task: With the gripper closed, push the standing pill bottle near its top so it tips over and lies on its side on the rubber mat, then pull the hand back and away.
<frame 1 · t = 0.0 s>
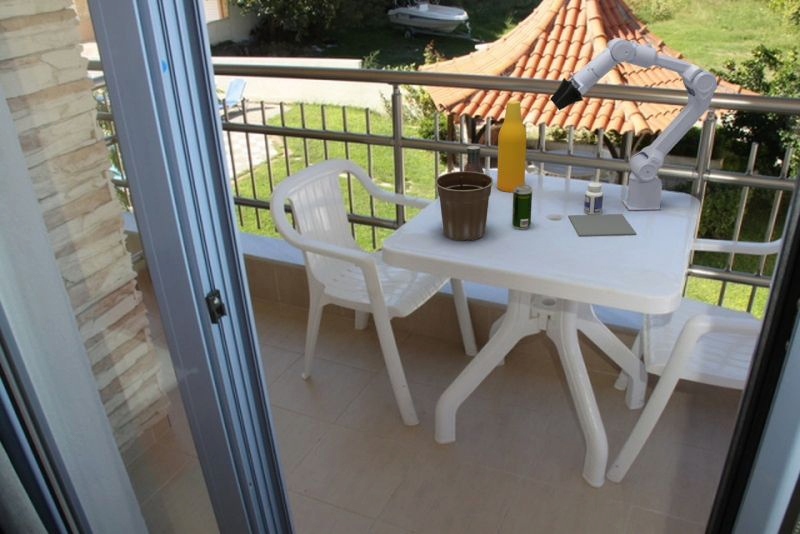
hand: (554, 104, 200), 32 cm above the table, tool tilted 50°, fingers open, 7 cm apart
mat: (601, 225, 200), on the table
plant pot: (464, 234, 199), on the table
sauce bottle: (473, 209, 216), on the table
beer can: (521, 227, 202), on the table
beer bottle: (510, 188, 233), on the table
pill bottle: (592, 212, 210), on the table
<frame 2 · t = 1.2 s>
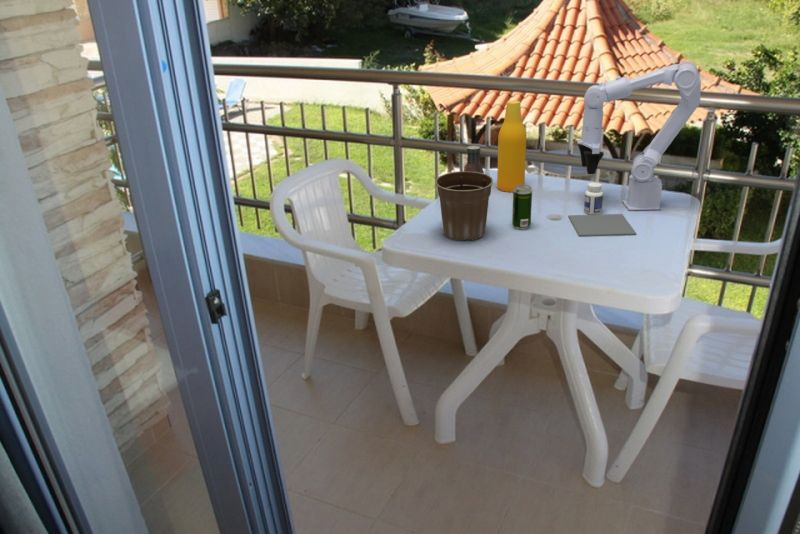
hand: (588, 169, 214), 10 cm above the table, tool pointing down, fingers open, 7 cm apart
nothing on the table moved.
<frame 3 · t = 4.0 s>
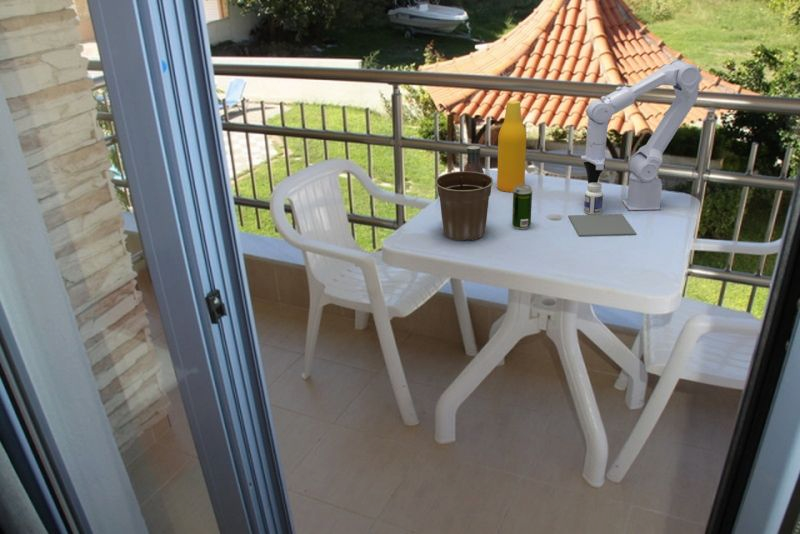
hand: (592, 185, 209), 7 cm above the table, tool pointing down, fingers closed
pill bottle: (592, 212, 210), on the table, touching gripper
everything else where it was.
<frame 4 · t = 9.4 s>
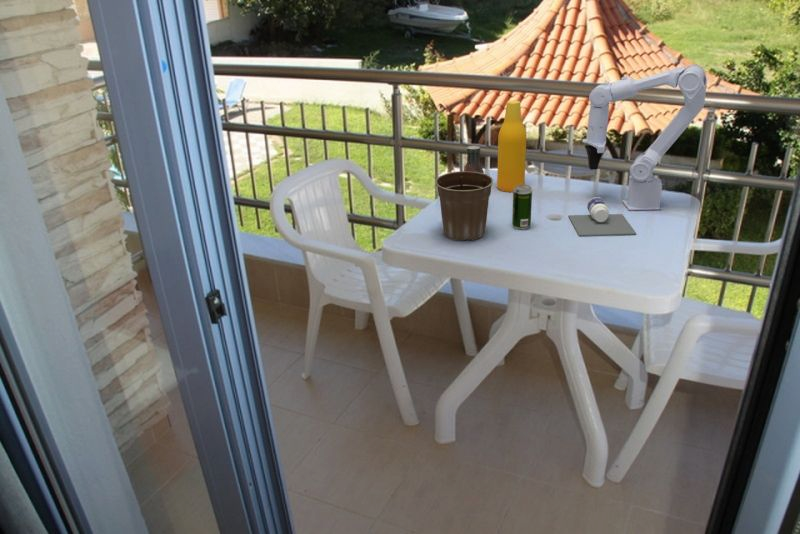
hand: (592, 168, 215), 10 cm above the table, tool pointing down, fingers closed
pill bottle: (595, 204, 207), point 3 cm above the table, touching mat
everything else where it was.
at the end: pill bottle tilted 90°; pill bottle inside the target area (6.4 cm from its centre), point 3.2 cm above the table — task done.
